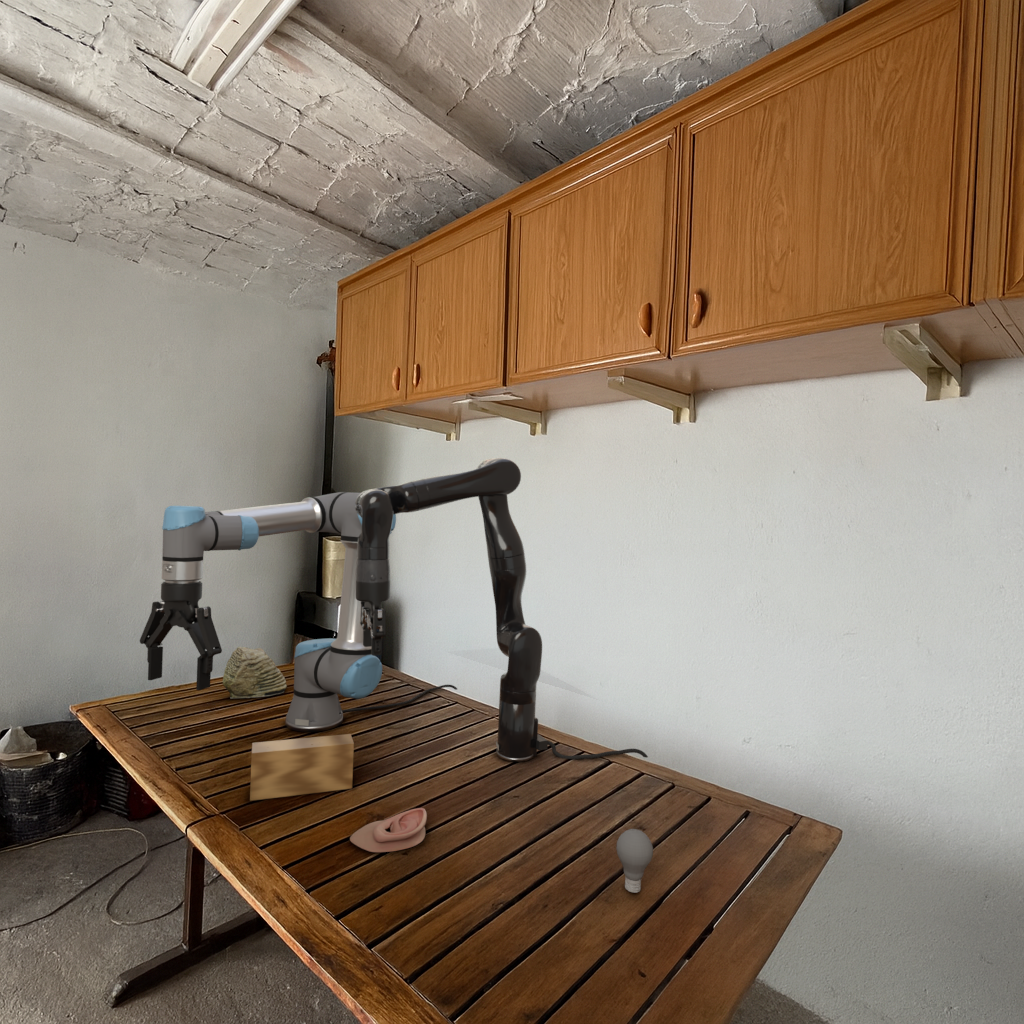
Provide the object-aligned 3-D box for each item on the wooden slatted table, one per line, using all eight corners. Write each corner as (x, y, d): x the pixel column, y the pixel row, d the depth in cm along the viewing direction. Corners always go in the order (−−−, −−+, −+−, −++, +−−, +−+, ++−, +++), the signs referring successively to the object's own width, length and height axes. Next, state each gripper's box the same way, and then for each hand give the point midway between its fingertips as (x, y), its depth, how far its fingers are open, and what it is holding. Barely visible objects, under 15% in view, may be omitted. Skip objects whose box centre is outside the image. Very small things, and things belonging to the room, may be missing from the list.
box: (249, 801, 131) (251, 753, 130) (250, 788, 136) (252, 742, 136) (352, 788, 138) (354, 743, 138) (348, 777, 144) (350, 733, 143)
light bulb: (610, 879, 108) (613, 822, 108) (644, 879, 109) (647, 822, 109) (619, 902, 102) (622, 840, 102) (655, 901, 103) (658, 840, 103)
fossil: (218, 695, 195) (220, 647, 195) (278, 685, 208) (279, 640, 207) (228, 703, 189) (230, 653, 188) (289, 692, 201) (290, 645, 201)
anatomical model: (342, 825, 115) (369, 797, 126) (341, 847, 115) (368, 817, 126) (412, 836, 112) (433, 806, 123) (411, 859, 112) (432, 826, 123)
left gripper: (122, 577, 131) (119, 679, 132) (213, 588, 122) (209, 697, 122) (154, 574, 138) (151, 670, 139) (242, 584, 129) (239, 687, 129)
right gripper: (397, 582, 137) (396, 656, 137) (382, 574, 150) (381, 642, 150) (363, 583, 134) (362, 660, 134) (349, 575, 147) (349, 644, 147)
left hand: (178, 683), depth 131 cm, fingers open, 13 cm apart
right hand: (372, 650), depth 142 cm, fingers open, 8 cm apart
